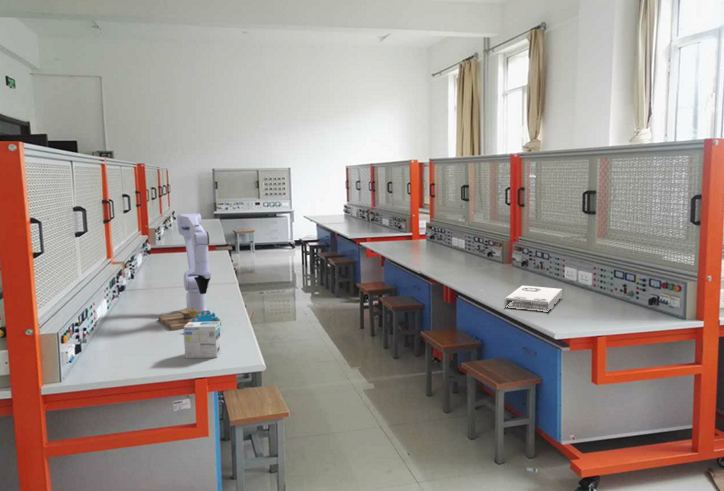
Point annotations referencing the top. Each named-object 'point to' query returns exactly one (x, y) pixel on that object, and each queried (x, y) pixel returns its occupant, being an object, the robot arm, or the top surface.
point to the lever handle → (189, 311)
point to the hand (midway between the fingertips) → (203, 293)
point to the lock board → (180, 320)
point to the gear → (205, 317)
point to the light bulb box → (202, 339)
